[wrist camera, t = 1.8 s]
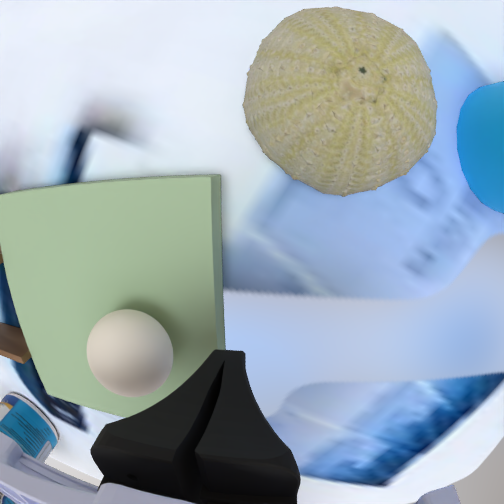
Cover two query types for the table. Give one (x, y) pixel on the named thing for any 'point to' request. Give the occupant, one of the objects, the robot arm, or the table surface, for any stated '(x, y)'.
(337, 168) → the sea urchin shell
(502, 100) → the mug
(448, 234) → the table surface
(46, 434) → the beverage bottle
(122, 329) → the ball
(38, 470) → the robot arm
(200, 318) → the green
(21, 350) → the open wooden cubby
